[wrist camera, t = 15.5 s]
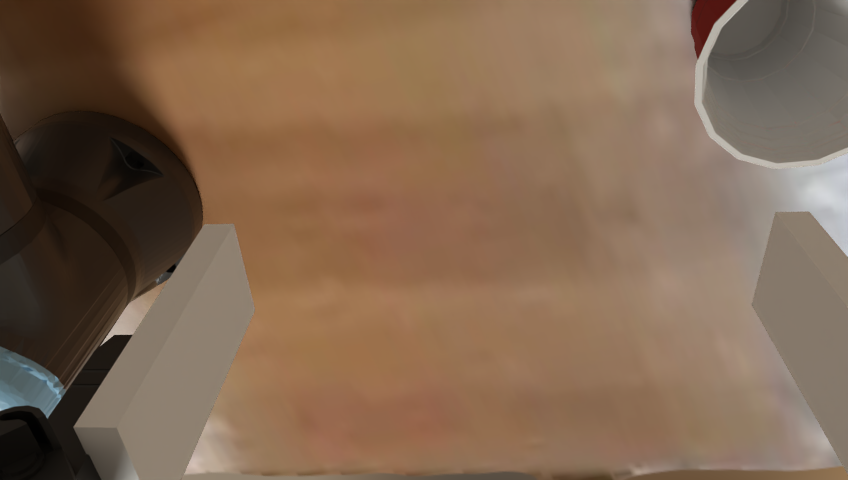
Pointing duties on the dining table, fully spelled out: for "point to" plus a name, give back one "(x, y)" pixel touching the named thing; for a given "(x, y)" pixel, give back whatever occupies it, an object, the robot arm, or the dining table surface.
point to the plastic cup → (773, 78)
